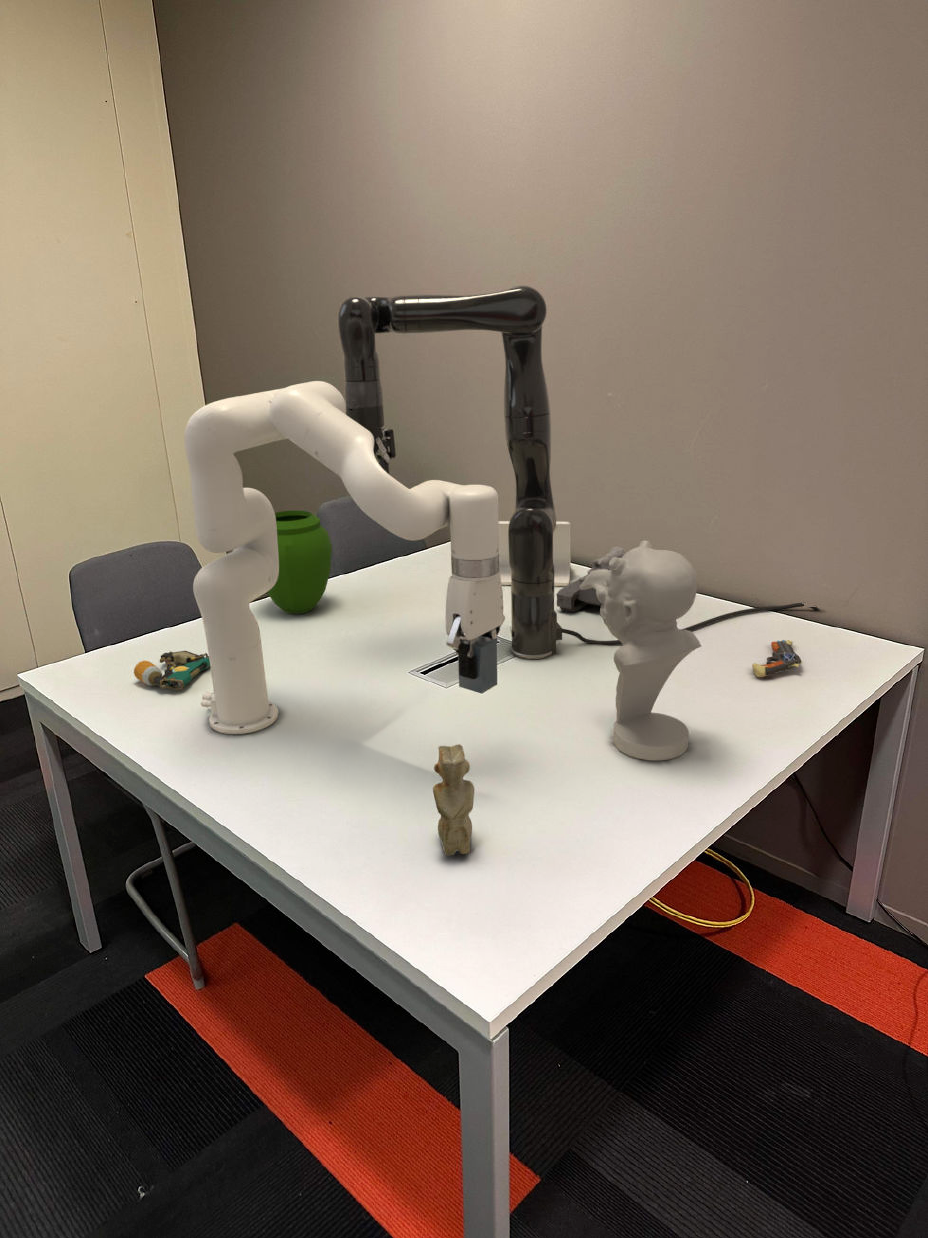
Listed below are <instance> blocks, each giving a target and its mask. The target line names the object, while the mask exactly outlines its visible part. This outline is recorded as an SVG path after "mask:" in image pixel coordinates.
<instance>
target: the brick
mask: <svg viewBox="0 0 928 1238" xmlns="http://www.w3.org/2000/svg"><path fill="white" fill-rule="evenodd" d="M468 642H469V641H465V640H464V644H465V645H466V646H467V647H468ZM474 656H476V661H477V678H476V679H470V678H467V677H463V676H461V675H460V674H459V673H458V687H459V688H462V689H464V690H469V691H472V692H475V693H478V694H481V695H482V694H484V693H485V692H487V691H489V690H491V689H493V688H494V687H495V686H497V685H498V641H497V640H496V639H492V638H488V637H484V636H479V637H477V638H476V640H475V648H474ZM457 663H458V666H457V667H458V668H459V654H457Z"/></svg>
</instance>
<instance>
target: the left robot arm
mask: <svg viewBox="0 0 928 1238" xmlns="http://www.w3.org/2000/svg"><path fill="white" fill-rule="evenodd" d="M183 436H184V437H183V439H184V449H185V453H186V458H187V463H188V469H189V475H190V476H189V477H190V485H191V486H190V488H191V497H192V498H191V499H192V508H193V516H194V517H193V518H194V524H195V533H196V537H197V539H198V542H199V544H200V545H201V547H202V548H203V549H204V550H206V551H208V552H210V553H213V554H214V553H215V554H223V553H226V554H224V555H221V556H219V557H217V558H215V559H212V560H211V561H210V562H208V563H206V564H205V565H203V566H202V567H201V568H200V569H199V570H198V572H197V573H196V575H195V577H194V579H193V585H192V589H193V595H194V600H195V602H196V605H197V607H198V610H199V613H200V615H201V620H202V623H203V629H204V633H205V640H206V646H207V652H208V653H207V654H208V656H209V660H210V666H209V667H210V673H211V681H212V686H213V692H212V691H204V692H203V694H202V699H201V701H200V706H201V707H203V708H210V709H211V714H210V716H209V719H208V720H209V725H210V727H211V728H212V729H213V730H214V731H216V732H218V733H221V734H225V735H244V734H249V733H254V732H257V731H260V730H263V729H265V728H267V727H269V726H271V725H273V723H275V721H276V720H277V719H278V717H279V709H278V707H277V705H276V704H275V703H273V702H271V701H269V695H268V686H267V679H266V671H265V662H264V654H263V645H262V638H261V630H260V626H259V623H258V620H257V619H256V617H255V615H254V614H253V612H252V610H251V608H250V603H251V602H254V601H255V600H256V599H258V598H260V597H261V596H263V595H265V594H266V593H267V592H268V591H269V590H270V589H271V588H272V587H273V586H274V585H275V583H276V581H277V579H278V575H279V557H278V541H277V526H276V517H275V513H276V512H275V510H274V507H273V505H272V503H271V501H270V500H269V499H268V497H267V496H266V495H265V494H264V492H263V493H262V491H260V490H258V489H255V488H252V487H244V479H243V472H242V468H241V466H240V464H239V461H238V459H237V457H236V456H235V455H234V454H235V453H237V452H241V451H245V450H248V449H251V448H256V447H259V446H263V445H266V444H270V443H274V442H279V441H282V440H283V441H284V440H288V441H290V442H291V443H293V444H294V445H296V446H297V447H298V448H300V449H301V450H303V451H304V452H305V453H307V454H308V455H309V456H311V457H312V458H314V459H315V460H316V461H318V462H319V463H321V464H322V465H323V466H324V467H326V468H327V469H328V470H330V471H331V472H333V473H334V474H336V475H337V476H338V477H339V478H340V479H341V480H342V483H343V486H344V487H345V489H346V491H347V493H348V494H349V496H350V497H351V499H352V500H353V501H354V503H355V504H356V505H357V507H358V508H359V509H360V510H361V511H362V512H363V513H364V514H365V515H366V516H368V517H369V518H370V519H372V521H374V522H376V523H377V524H378V525H380V527H383V529H385V530H386V531H388V532H389V533H391V534H393V535H395V536H396V537H398V538H400V539H403V540H406V541H411V542H412V541H420V540H423V539H426V538H427V537H429V536H430V535H432V534H434V533H435V532H437V531H438V530H441V529H443V528H446V527H449V534H450V535H449V536H450V537H449V539H450V564H451V566H450V567H451V576H449V577H448V583H447V589H446V599H445V633H446V635H447V636H448V637H447V639H446V642H445V643H446V646H447V647H449V648H451V649H453V651H455V653H456V654H457V655H458V654H459V667H458V675H459V674H460V675H461V676H463V677H467V678H470V679H476V678H477V661H476V656H474V648H475V640H476V638H477V637H479V636H484V637H488V638H492V639H496V640H497V642H498V636H499V634H500V631H501V628H502V626H503V625H504V622H505V620H506V616H505V614H504V593H503V585H502V583H501V576H500V571H499V521H500V518H499V517H500V516H499V515H500V511H499V507H500V505H499V495H498V492H497V490H496V488H494V487H492V486H489V485H485V484H465V485H463V484H458V483H454V482H451V481H445V480H439V479H430V480H425V481H424V482H421V483H419V484H418V485H415V486H413V487H411V488H408V487H407V486H405V485H404V484H403V483H401V482H400V481H398V480H397V479H396V478H394V477H393V476H392V475H390V473H389V474H388V473H387V472H386V471H385V470H384V469H383V468H382V467H381V466H380V465H379V463H378V462H379V461H378V460H377V458H376V457H375V455H374V451H373V448H374V437H373V435H372V433H371V432H370V431H368V430H367V429H366V428H364V427H363V426H361V425H360V424H358V423H357V422H356V421H354V420H353V419H351V418H350V417H348V416H347V415H346V404H345V397H344V396H343V394H342V392H340V391H339V389H337V388H336V387H335V386H334V385H332V384H331V383H329V382H326V381H323V380H311V381H307V382H302V383H297V384H292V385H288V386H286V387H281V388H278V389H272V390H266V391H260V392H255V393H250V394H245V395H238V396H237V395H236V396H233V397H227V398H223V399H218V400H217V401H216V400H215V401H213V402H210V403H207V404H205V405H203V406H202V407H200V408H198V409H197V410H196V411H194V413H193V414H192V415H191V416H190V417H189V419H188V421H187V423H186V425H185V428H184V435H183ZM227 552H228V553H227ZM464 640H465V641H469V642H468V647H467V646H466V645H465V644H464Z"/></svg>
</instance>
